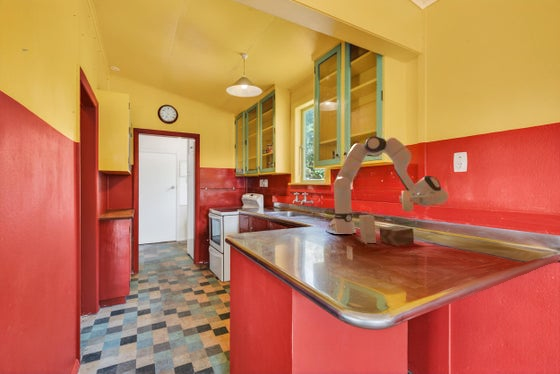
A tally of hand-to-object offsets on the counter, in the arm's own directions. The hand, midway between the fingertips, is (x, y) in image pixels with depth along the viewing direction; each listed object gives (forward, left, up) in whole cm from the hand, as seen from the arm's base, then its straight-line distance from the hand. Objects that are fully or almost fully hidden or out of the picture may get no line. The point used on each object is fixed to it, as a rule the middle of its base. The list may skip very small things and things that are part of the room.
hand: (406, 199), depth 140 cm
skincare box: (-10, -20, -24) cm, 32 cm away
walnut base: (-2, -7, -23) cm, 24 cm away
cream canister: (0, +1, -6) cm, 6 cm away
